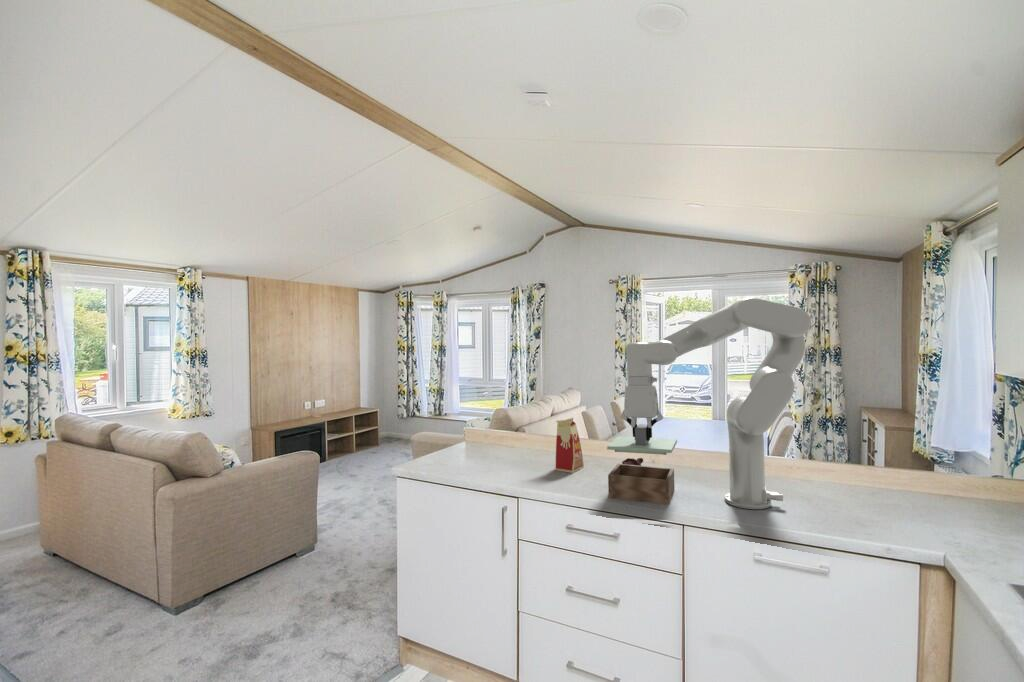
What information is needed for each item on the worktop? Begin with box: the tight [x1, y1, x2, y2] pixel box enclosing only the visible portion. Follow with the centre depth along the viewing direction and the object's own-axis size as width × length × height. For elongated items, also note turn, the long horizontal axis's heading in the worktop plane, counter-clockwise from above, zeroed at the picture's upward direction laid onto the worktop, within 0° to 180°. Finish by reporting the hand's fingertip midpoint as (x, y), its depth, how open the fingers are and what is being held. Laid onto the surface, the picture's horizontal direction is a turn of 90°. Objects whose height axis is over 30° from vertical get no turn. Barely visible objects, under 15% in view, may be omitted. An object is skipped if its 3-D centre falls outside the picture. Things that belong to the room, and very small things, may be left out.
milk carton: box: [554, 417, 585, 474], centre depth 185 cm, size 9×9×20 cm
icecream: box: [621, 457, 644, 466], centre depth 173 cm, size 7×7×15 cm
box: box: [607, 463, 675, 506], centre depth 151 cm, size 18×14×8 cm
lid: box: [606, 424, 678, 456], centre depth 151 cm, size 19×15×7 cm
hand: (642, 439), depth 151 cm, fingers closed on lid, 3 cm apart
